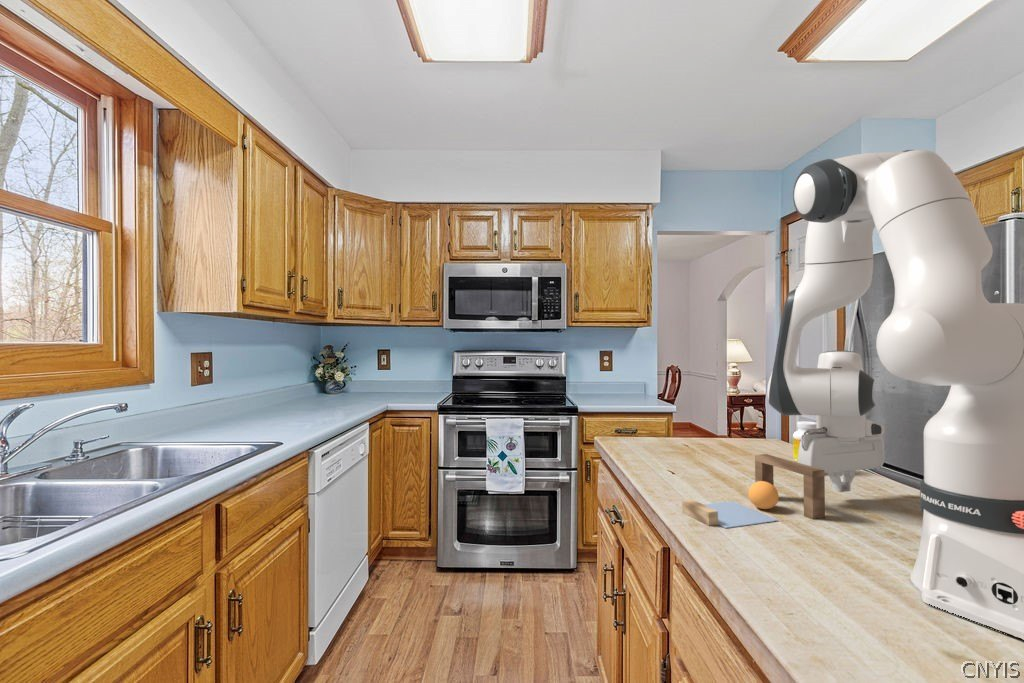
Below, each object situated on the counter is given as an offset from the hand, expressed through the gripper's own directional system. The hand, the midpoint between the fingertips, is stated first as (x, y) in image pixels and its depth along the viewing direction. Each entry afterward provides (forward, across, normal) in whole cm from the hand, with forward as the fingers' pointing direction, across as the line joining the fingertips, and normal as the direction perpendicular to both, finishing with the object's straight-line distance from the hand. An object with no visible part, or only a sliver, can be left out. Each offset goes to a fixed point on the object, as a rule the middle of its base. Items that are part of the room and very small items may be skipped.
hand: (841, 491), depth 106 cm
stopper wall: (+2, -36, 0) cm, 36 cm away
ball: (-1, -20, +1) cm, 20 cm away
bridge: (+2, -14, 0) cm, 14 cm away
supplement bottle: (+2, +13, +20) cm, 24 cm away
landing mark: (+2, -29, 0) cm, 29 cm away
